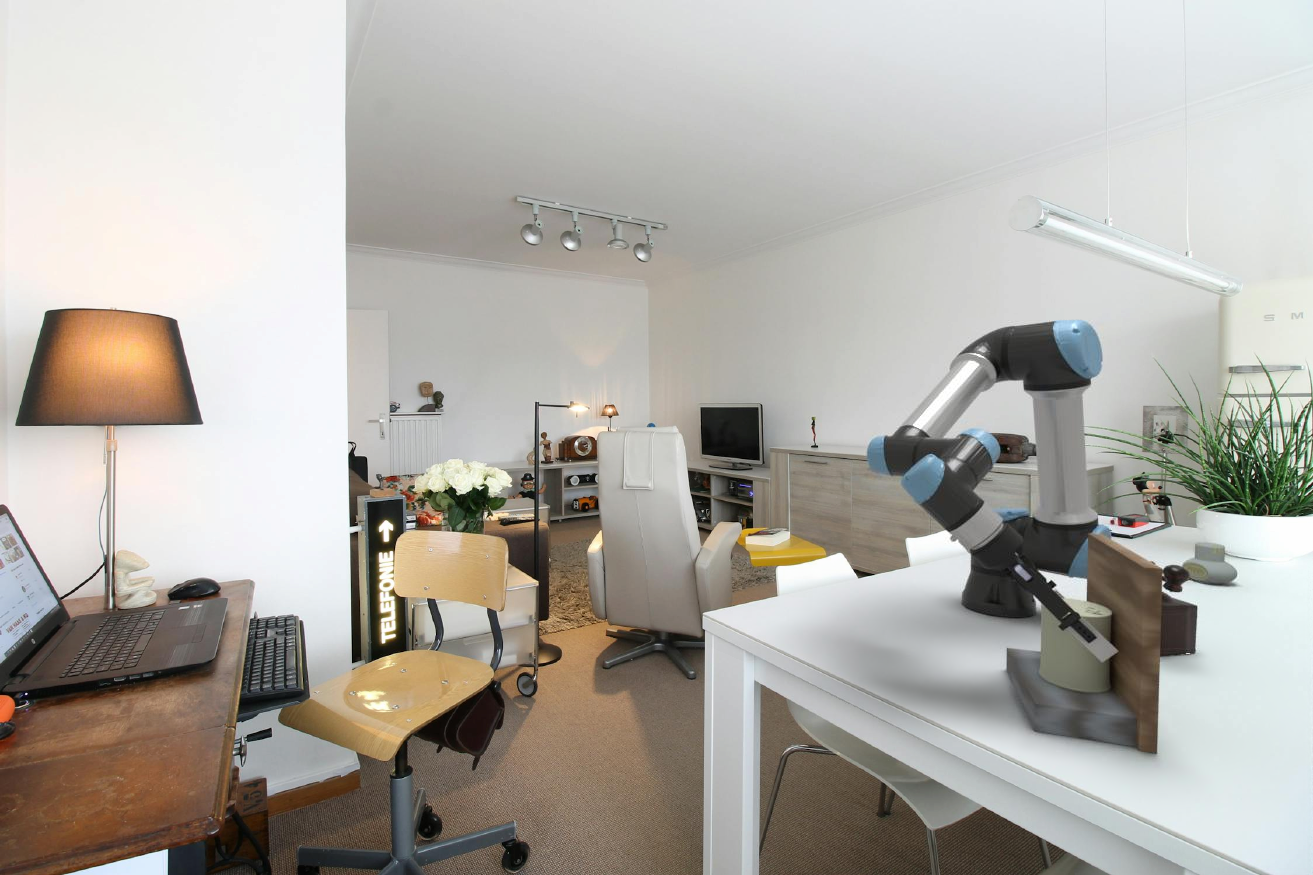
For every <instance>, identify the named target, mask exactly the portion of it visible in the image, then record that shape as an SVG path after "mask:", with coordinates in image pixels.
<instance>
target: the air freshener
mask: <svg viewBox="0 0 1313 875" xmlns="http://www.w3.org/2000/svg"><path fill="white" fill-rule="evenodd" d="M1225 554H1226V547H1225V546H1224V544H1220V543H1214V542H1205V541H1202V542H1200V541H1199V542H1196V543H1195V544H1194V557H1192V558H1189V559H1187V560H1185V561H1184V562H1183V563H1182V565H1181V567H1183V568H1185V569H1186V570H1187V571H1188V572H1189V574H1190V578H1189V579H1192V580H1194V582H1198V583H1203V584H1208V583H1209V584H1208V585H1210V584H1211V585H1224V584H1228V583H1230V582H1231V583H1232V582H1233V581H1234V580H1236V579H1237V577H1238V570H1237V569H1236V567H1234V565H1233V564H1230V563H1229V562H1227V561H1225V560H1226V558H1225V557H1226V556H1225Z"/></svg>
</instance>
